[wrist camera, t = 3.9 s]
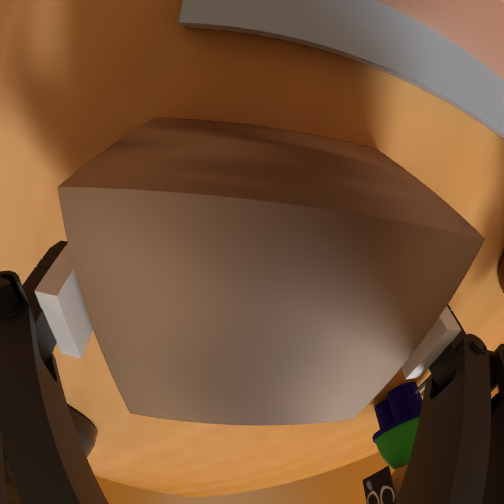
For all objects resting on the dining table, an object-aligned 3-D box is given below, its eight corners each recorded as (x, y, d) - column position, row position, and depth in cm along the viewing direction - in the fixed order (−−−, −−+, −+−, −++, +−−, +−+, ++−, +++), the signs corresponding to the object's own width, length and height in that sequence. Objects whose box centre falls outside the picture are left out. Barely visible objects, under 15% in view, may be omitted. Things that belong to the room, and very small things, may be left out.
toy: (375, 382, 22) (413, 536, 10) (446, 367, 22) (492, 493, 10) (345, 421, 27) (367, 540, 15) (409, 408, 28) (438, 512, 15)
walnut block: (158, 293, 15) (130, 413, 9) (155, 117, 10) (57, 187, 4) (322, 305, 16) (352, 419, 10) (376, 148, 11) (484, 238, 5)
